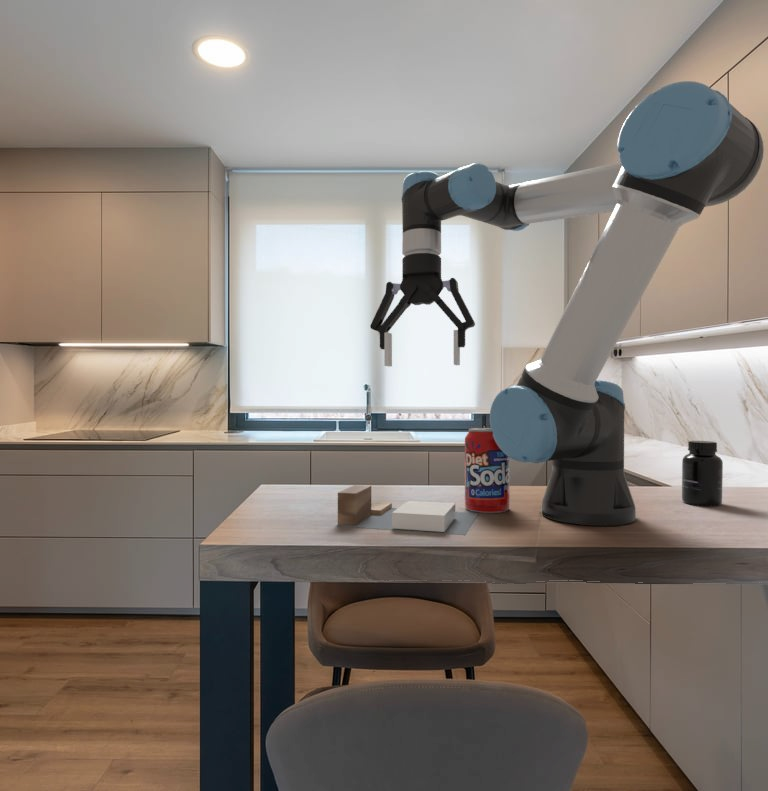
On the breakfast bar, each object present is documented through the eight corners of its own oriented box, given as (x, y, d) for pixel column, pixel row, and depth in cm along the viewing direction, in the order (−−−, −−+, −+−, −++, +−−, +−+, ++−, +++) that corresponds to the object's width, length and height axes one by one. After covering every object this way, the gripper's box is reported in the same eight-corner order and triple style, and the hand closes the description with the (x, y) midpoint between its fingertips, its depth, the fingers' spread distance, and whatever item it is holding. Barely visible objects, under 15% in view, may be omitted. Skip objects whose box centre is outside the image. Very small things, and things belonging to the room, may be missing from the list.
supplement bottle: (680, 504, 107) (680, 441, 107) (683, 499, 113) (683, 439, 113) (722, 508, 104) (722, 443, 104) (723, 502, 110) (722, 440, 110)
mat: (478, 516, 97) (478, 512, 97) (465, 538, 82) (465, 534, 82) (368, 509, 103) (368, 506, 103) (336, 529, 87) (336, 525, 87)
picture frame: (455, 503, 92) (444, 515, 83) (455, 518, 92) (444, 532, 83) (408, 500, 95) (392, 512, 85) (408, 515, 95) (392, 529, 85)
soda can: (496, 506, 105) (496, 427, 105) (517, 515, 98) (517, 429, 98) (457, 509, 103) (457, 427, 103) (476, 518, 96) (476, 430, 96)
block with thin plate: (391, 507, 102) (391, 479, 102) (364, 526, 87) (364, 494, 87) (360, 505, 104) (360, 478, 104) (328, 523, 89) (328, 492, 89)
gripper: (488, 256, 109) (488, 365, 109) (366, 265, 116) (366, 367, 116) (484, 246, 102) (484, 363, 102) (354, 256, 109) (354, 365, 109)
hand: (421, 365), depth 109 cm, fingers open, 13 cm apart
